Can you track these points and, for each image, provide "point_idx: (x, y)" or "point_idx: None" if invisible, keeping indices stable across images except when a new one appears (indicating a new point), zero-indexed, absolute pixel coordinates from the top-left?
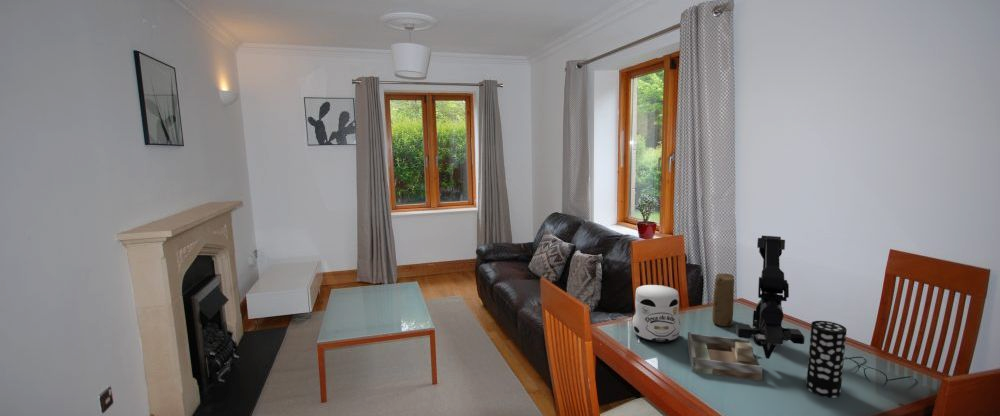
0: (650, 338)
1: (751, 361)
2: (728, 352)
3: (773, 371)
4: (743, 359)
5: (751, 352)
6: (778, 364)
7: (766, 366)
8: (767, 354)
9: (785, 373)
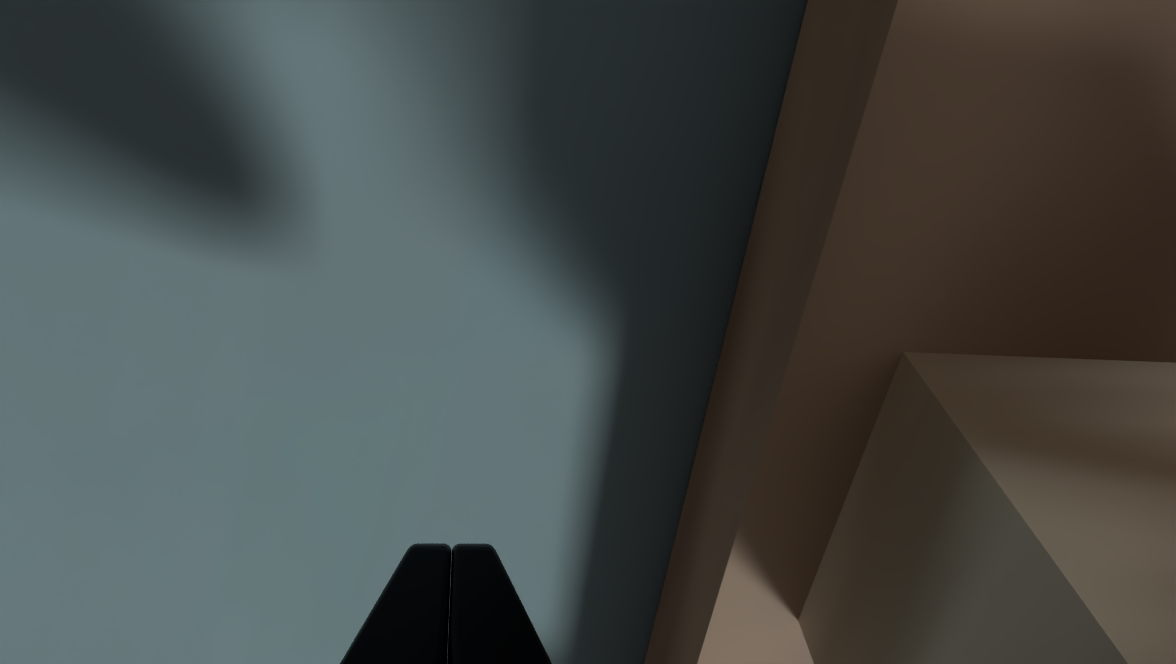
0: None
1: (932, 367)
2: None
3: (342, 195)
4: (1152, 395)
5: (1135, 610)
6: (167, 536)
7: (454, 405)
8: (467, 658)
9: (20, 143)
